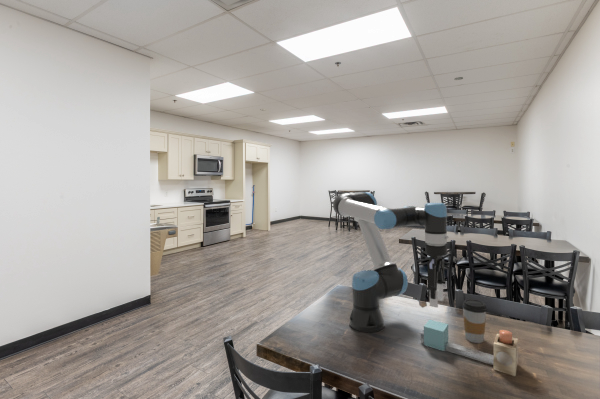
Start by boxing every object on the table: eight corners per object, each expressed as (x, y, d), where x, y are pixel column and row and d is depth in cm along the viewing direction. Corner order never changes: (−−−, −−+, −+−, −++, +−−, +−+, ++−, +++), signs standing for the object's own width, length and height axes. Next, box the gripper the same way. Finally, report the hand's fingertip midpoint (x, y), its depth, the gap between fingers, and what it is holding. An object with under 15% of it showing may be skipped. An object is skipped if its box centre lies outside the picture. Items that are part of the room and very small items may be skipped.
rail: (421, 342, 118) (421, 333, 118) (423, 339, 121) (423, 330, 120) (499, 367, 102) (499, 355, 101) (500, 363, 104) (500, 351, 104)
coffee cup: (490, 345, 114) (490, 307, 114) (466, 344, 116) (466, 306, 115) (481, 334, 123) (481, 298, 122) (459, 333, 124) (459, 298, 123)
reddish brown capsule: (498, 341, 101) (498, 333, 101) (500, 337, 104) (500, 328, 104) (511, 345, 99) (511, 336, 98) (512, 340, 101) (512, 331, 101)
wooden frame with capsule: (493, 370, 100) (493, 344, 100) (496, 358, 107) (496, 333, 106) (515, 377, 97) (515, 350, 96) (517, 364, 103) (517, 338, 102)
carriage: (424, 345, 116) (423, 326, 115) (429, 337, 121) (429, 319, 120) (443, 351, 111) (443, 331, 111) (448, 343, 116) (448, 324, 116)
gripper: (439, 250, 104) (439, 315, 105) (453, 240, 118) (453, 297, 120) (417, 247, 108) (418, 309, 110) (433, 238, 123) (433, 293, 125)
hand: (436, 303), depth 115 cm, fingers open, 6 cm apart
